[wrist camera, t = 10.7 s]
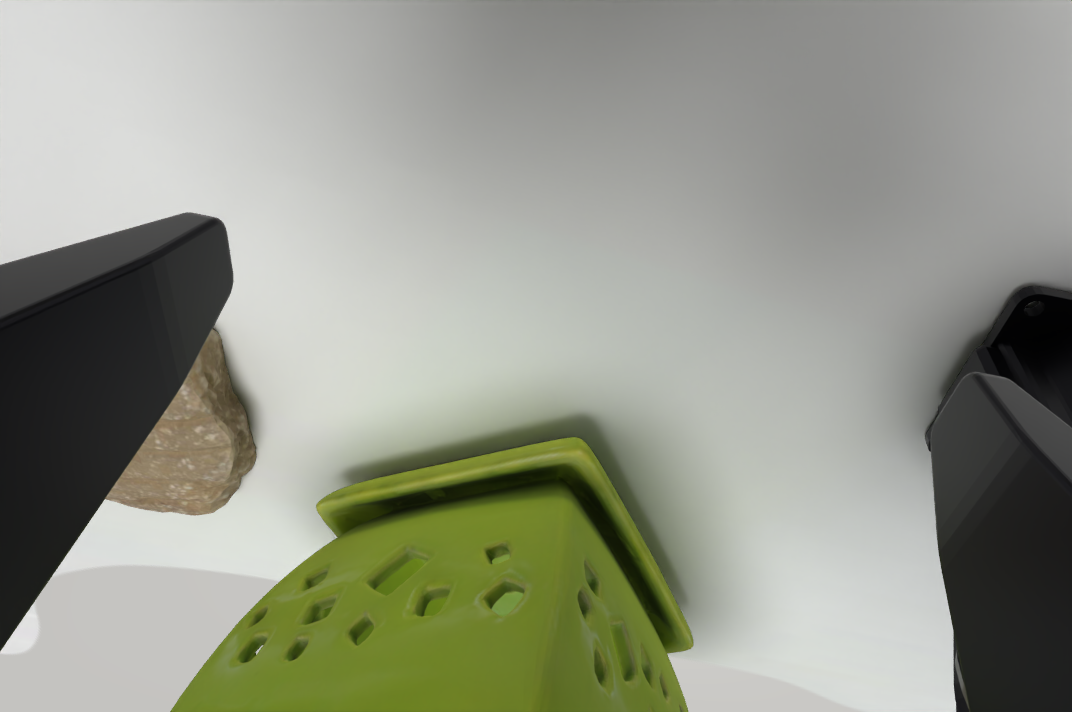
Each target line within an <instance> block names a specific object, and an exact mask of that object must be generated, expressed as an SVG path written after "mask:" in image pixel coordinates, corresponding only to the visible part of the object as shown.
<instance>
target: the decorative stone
mask: <svg viewBox="0 0 1072 712" xmlns="http://www.w3.org/2000/svg"><path fill="white" fill-rule="evenodd" d="M255 449H256V447H255V445H254V444H253V439H252V434H251V432H250V430H249V424H248V421H247V415H246V412H245V409H244V407H243V406H242V405H241V404H240V402H239V400H238V398H237V396H236V395H235V394H234V392H233V390H232V386H231V381H230V377H229V373H228V370H227V367H226V365H225V358H224V351H223V347H222V340H221V338H220V335H219V333H218V332H216V331H215V330H214V329H212V330H211V332H210V334H209V336H208V338H207V340H206V342H205V344H204V346H203V347H202V349H201V351H200V353H199V355H198V357H197V359H196V361H195V363H194V365H193V367H192V368H191V370H190V372H189V374H188V376H187V378H186V379H185V381H184V383H183V385H182V386H181V388H180V390H179V391H178V393H177V394H176V396H175V397H174V399H173V400H172V402H171V403H170V405H169V406H168V408H167V409H166V411H165V412H164V414H163V415H162V417H161V418H160V419H159V421H158V422H157V424H156V425H155V427H154V428H153V430H152V431H151V433H150V434H149V435H148V437H147V438H146V440H145V441H144V443H143V444H142V446H141V447H140V449H139V450H138V451H137V453H136V454H135V456H134V457H133V459H132V460H131V462H130V463H129V465H128V466H127V468H126V469H125V470H124V472H123V473H122V475H121V476H120V478H119V479H118V481H117V482H116V484H115V485H114V486H113V488H112V489H111V491H110V492H109V494H108V495H107V497H106V498H105V499H107V500H111V501H115V502H118V503H121V504H124V505H127V506H131V507H135V508H139V509H145V510H151V511H157V512H175V513H181V514H187V515H202V514H209V513H213V512H215V511H216V510H218V509H219V508H221V507H223V506H224V505H225V504H226V503H227V502H228V501H229V500H230V498H231V496H232V495H233V494H234V493H235V492H236V491H237V490H238V488H239V486H240V483H241V477H242V476H243V475H245V474H247V473H248V472H249V471H250V470H251V469H252V468H253V466H254V463H255V460H256V452H255Z"/></svg>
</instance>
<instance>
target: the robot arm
mask: <svg viewBox="0 0 1072 712" xmlns="http://www.w3.org/2000/svg"><path fill="white" fill-rule="evenodd" d="M232 286H233V269H232V263H231V256H230V250H229V243H228V236H227V231H226V227H225V225H224V223H223V222H222V221H221V220H220V219H218V218H215V217H211V216H206V215H201V214H196V213H182V214H179V215H175V216H172V217H168V218H165V219H161V220H158V221H154V222H151V223H147V224H143V225H140V226H136V227H133V228H129V229H126V230H122V231H119V232H115V233H112V234H108V235H104V236H101V237H97V238H94V239H90V240H87V241H83V242H80V243H76V244H73V245H69V246H65V247H62V248H58V249H55V250H51V251H48V252H44V253H41V254H37V255H34V256H30V257H26V258H23V259H19V260H16V261H12V262H9V263H5V264H2V265H0V651H1V650H2V648H3V647H4V645H5V644H6V642H7V641H8V639H9V638H10V636H11V635H12V634H13V632H14V631H15V629H16V628H17V626H18V625H19V623H20V622H21V620H22V619H23V618H24V616H25V615H26V613H27V612H28V610H29V609H30V607H31V606H32V604H33V603H34V602H35V600H36V599H37V597H38V596H39V594H40V593H41V591H42V590H43V588H44V587H45V585H46V584H47V583H48V581H49V580H50V578H51V577H52V575H53V574H54V572H55V571H56V569H57V568H58V567H59V565H60V564H61V562H62V561H63V559H64V558H65V556H66V555H67V553H68V552H69V551H70V549H71V548H72V546H73V545H74V543H75V542H76V540H77V539H78V537H79V536H80V535H81V533H82V532H83V530H84V529H85V527H86V526H87V524H88V523H89V521H90V520H91V518H92V517H93V516H94V514H95V513H96V511H97V510H98V508H99V507H100V505H101V504H102V502H103V501H104V500H105V498H106V497H107V495H108V494H109V492H110V491H111V489H112V488H113V486H114V485H115V484H116V482H117V481H118V479H119V478H120V476H121V475H122V473H123V472H124V470H125V469H126V468H127V466H128V465H129V463H130V462H131V460H132V459H133V457H134V456H135V454H136V453H137V451H138V450H139V449H140V447H141V446H142V444H143V443H144V441H145V440H146V438H147V437H148V435H149V434H150V433H151V431H152V430H153V428H154V427H155V425H156V424H157V422H158V421H159V419H160V418H161V417H162V415H163V414H164V412H165V411H166V409H167V408H168V406H169V405H170V403H171V402H172V400H173V399H174V397H175V396H176V394H177V393H178V391H179V390H180V388H181V386H182V385H183V383H184V381H185V379H186V378H187V376H188V374H189V372H190V370H191V368H192V367H193V365H194V363H195V361H196V359H197V357H198V355H199V353H200V351H201V349H202V347H203V346H204V344H205V342H206V340H207V338H208V336H209V334H210V332H211V330H212V328H213V326H214V324H215V323H216V321H217V319H218V317H219V315H220V313H221V311H222V309H223V307H224V305H225V303H226V301H227V300H228V298H229V296H230V293H231V290H232ZM1034 301H1039V303H1038V304H1037V305H1036V306H1035V307H1032V308H1025V307H1026V306H1027V305H1028V304H1029V303H1031V302H1034ZM938 411H939V414H938V416H937V418H936V419H935V421H934V422H933V424H932V425H931V427H930V429H929V430H928V432H927V433H926V436H925V440H926V443H927V446H928V449H929V451H930V452H931V458H932V472H933V487H934V501H935V516H936V530H937V541H938V550H939V557H940V563H941V569H942V574H943V579H944V584H945V589H946V594H947V600H948V605H949V610H950V615H951V620H952V625H953V630H954V691H955V700H956V712H1072V293H1069V292H1064V291H1059V290H1054V289H1049V288H1044V287H1037V286H1031V287H1027V288H1023V289H1022V290H1020V291H1018V292H1017V293H1016V294H1015V295H1014V296H1013V297H1012V298H1011V300H1010V301H1009V303H1008V305H1007V306H1006V308H1005V309H1004V311H1003V313H1002V314H1001V316H1000V317H999V319H998V321H997V322H996V324H995V325H994V327H993V328H992V330H991V332H990V333H989V335H988V336H987V338H986V340H985V341H984V343H983V344H982V346H980V347H978V348H977V349H975V350H974V351H973V352H972V354H971V356H970V357H969V359H968V360H967V362H966V364H965V365H964V367H963V368H962V370H961V372H960V373H959V375H958V376H957V378H956V380H955V381H954V383H953V384H952V386H951V388H950V389H949V391H948V392H947V394H946V396H945V397H944V399H943V400H942V402H941V404H940V405H939V407H938Z"/></svg>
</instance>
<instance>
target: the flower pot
mask: <svg viewBox="0 0 1072 712" xmlns="http://www.w3.org/2000/svg"><path fill="white" fill-rule="evenodd" d="M316 508H317V511H318V513H319V515H320V516H321V518H322V519H323V520H324V522H325V523H326V524H327V525H328V527H329V528H330V529H331V530H332V531H333V532H334V534H335V535H336V536H337V537H338V538H336V539H335V540H333V541H332V542H330V543H329V544H327V545H326V546H324V547H323V548H321V549H320V550H319V551H317V552H316V553H314V554H313V555H312V556H310V557H309V558H308V559H306V560H305V561H304V562H303V563H301V564H300V565H299V566H298V567H296V568H295V569H294V570H293V571H291V572H290V573H289V574H288V575H287V576H286V577H284V578H283V579H282V580H281V581H280V582H279V583H278V584H276V585H275V586H274V587H273V588H272V589H271V590H270V591H269V592H268V593H267V594H266V595H265V596H264V597H263V598H262V599H261V600H260V601H259V602H258V603H257V604H256V605H255V606H254V607H253V608H252V609H251V610H250V611H249V612H248V613H247V614H246V615H245V616H244V617H243V618H242V619H241V620H240V621H239V623H238V624H237V625H236V626H235V627H234V628H233V630H232V631H231V632H230V633H229V634H228V636H227V637H226V638H225V639H224V640H223V642H222V643H221V644H220V645H219V646H218V648H217V649H216V650H215V651H214V653H213V654H212V655H211V656H210V658H209V659H208V660H207V661H206V663H205V664H204V665H203V667H202V668H201V669H200V671H199V672H198V673H197V675H196V676H195V677H194V679H193V680H192V681H191V683H190V684H189V686H188V687H187V688H186V690H185V691H184V692H183V694H182V695H181V696H180V698H179V699H178V701H177V703H176V704H175V706H174V707H173V708H172V710H171V711H170V712H688V708H687V705H686V703H685V699H684V696H683V694H682V691H681V688H680V685H679V682H678V680H677V677H676V675H675V672H674V670H673V668H672V665H671V662H670V660H669V657H668V655H667V653H673V652H680V651H685V650H688V649H691V648H692V647H693V638H692V634H691V631H690V629H689V627H688V625H687V622H686V620H685V618H684V616H683V614H682V612H681V610H680V608H679V606H678V604H677V603H676V601H675V599H674V597H673V595H672V593H671V591H670V589H669V587H668V585H667V583H666V581H665V579H664V577H663V575H662V573H661V571H660V569H659V567H658V565H657V564H656V562H655V560H654V558H653V556H652V554H651V553H650V551H649V549H648V547H647V545H646V544H645V542H644V540H643V538H642V536H641V534H640V533H639V531H638V529H637V527H636V525H635V524H634V522H633V520H632V518H631V517H630V515H629V513H628V511H627V509H626V508H625V506H624V504H623V502H622V501H621V499H620V497H619V495H618V494H617V492H616V490H615V488H614V487H613V485H612V483H611V481H610V480H609V478H608V476H607V475H606V473H605V471H604V469H603V468H602V466H601V464H600V463H599V461H598V459H597V458H596V456H595V455H594V453H593V452H592V450H591V448H590V447H589V446H588V445H587V444H586V443H585V442H584V441H583V440H582V439H580V438H576V437H570V438H563V439H557V440H552V441H547V442H542V443H537V444H532V445H527V446H523V447H518V448H513V449H509V450H504V451H499V452H495V453H490V454H485V455H481V456H476V457H472V458H467V459H463V460H458V461H454V462H449V463H445V464H440V465H435V466H431V467H426V468H421V469H417V470H412V471H407V472H403V473H398V474H394V475H389V476H384V477H380V478H375V479H371V480H368V481H364V482H360V483H357V484H354V485H351V486H348V487H344V488H342V489H340V490H337V491H335V492H333V493H331V494H329V495H327V496H326V497H324V498H323V499H322V500H320V501H319V502H318V503H317V505H316ZM262 645H263V647H262V648H261V650H260V651H259V652H258V654H257V655H256V653H255V652H256V651H257V650H258V649H259V648H260V647H261V646H262Z"/></svg>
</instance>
